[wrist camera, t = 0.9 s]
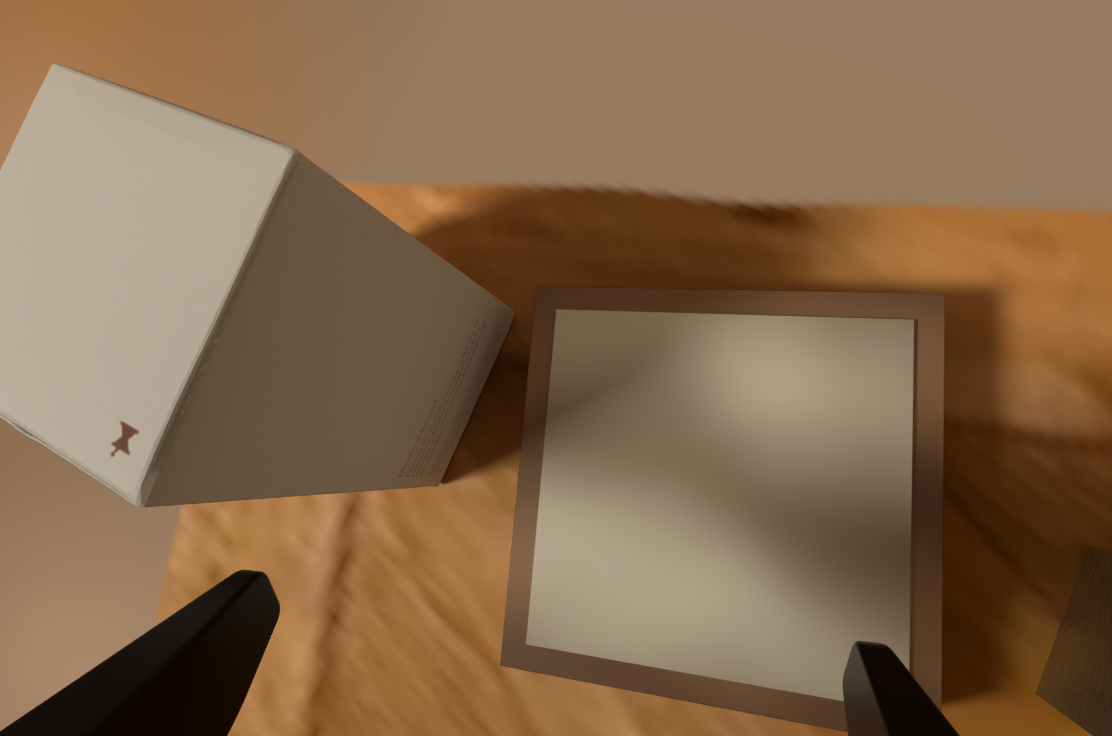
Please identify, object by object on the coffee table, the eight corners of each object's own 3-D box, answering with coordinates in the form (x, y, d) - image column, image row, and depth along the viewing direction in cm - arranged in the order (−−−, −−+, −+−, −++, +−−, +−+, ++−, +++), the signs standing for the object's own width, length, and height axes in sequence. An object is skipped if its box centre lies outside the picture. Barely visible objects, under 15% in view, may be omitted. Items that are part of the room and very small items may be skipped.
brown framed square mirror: (911, 711, 18) (943, 752, 15) (524, 642, 21) (498, 667, 19) (916, 314, 20) (946, 292, 17) (555, 304, 23) (535, 285, 20)
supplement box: (522, 311, 23) (308, 145, 11) (440, 491, 23) (128, 526, 11) (368, 246, 25) (46, 47, 13) (291, 410, 25) (-109, 363, 13)
